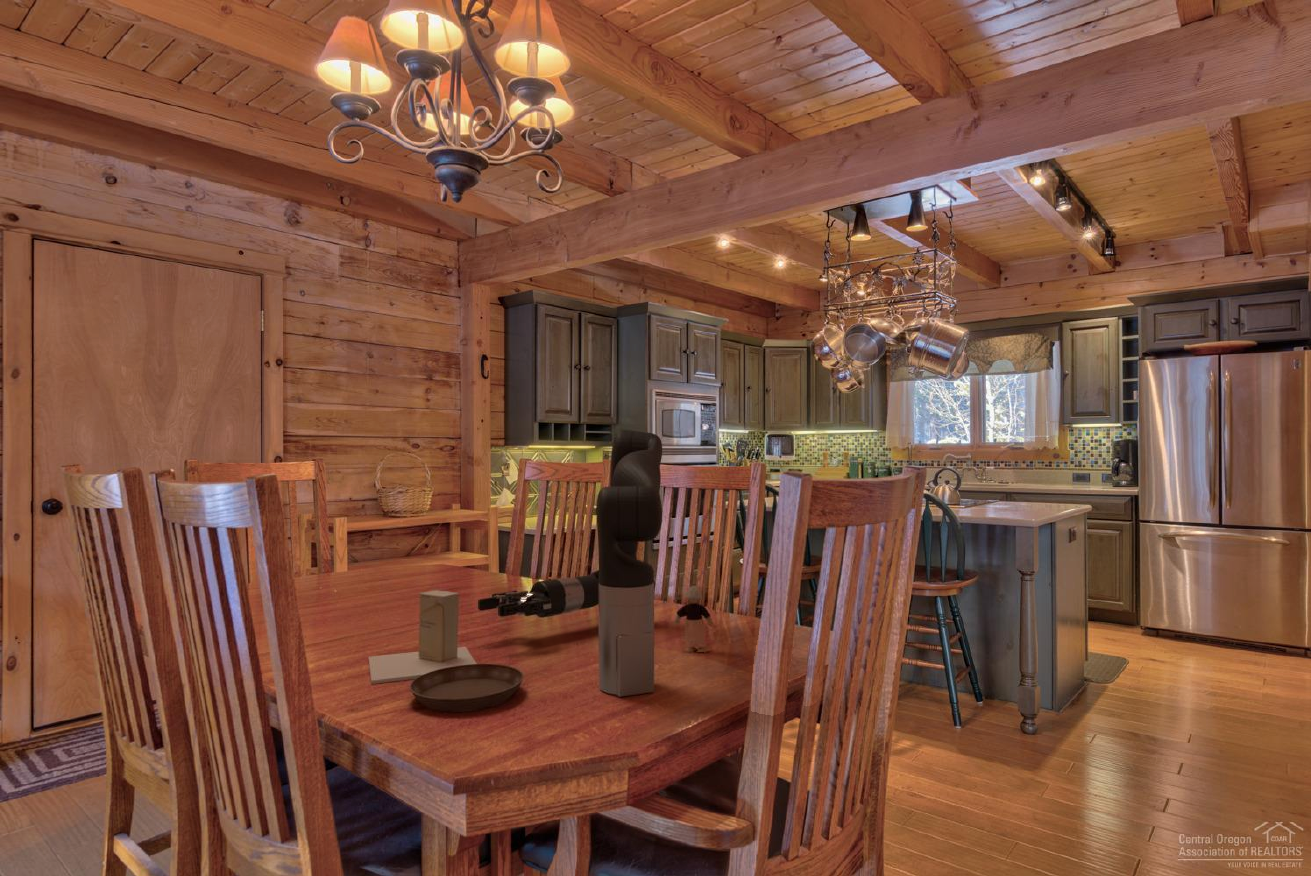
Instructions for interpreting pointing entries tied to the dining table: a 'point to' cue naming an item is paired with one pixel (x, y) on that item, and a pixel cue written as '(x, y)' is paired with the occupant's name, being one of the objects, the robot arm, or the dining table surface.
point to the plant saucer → (466, 687)
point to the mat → (411, 665)
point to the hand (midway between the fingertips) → (488, 608)
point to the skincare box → (438, 625)
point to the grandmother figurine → (694, 620)
